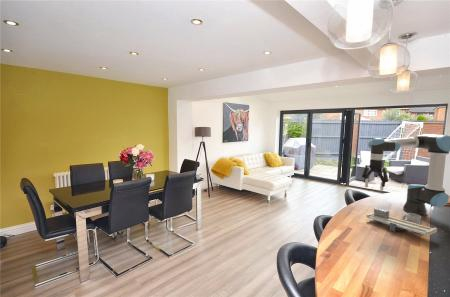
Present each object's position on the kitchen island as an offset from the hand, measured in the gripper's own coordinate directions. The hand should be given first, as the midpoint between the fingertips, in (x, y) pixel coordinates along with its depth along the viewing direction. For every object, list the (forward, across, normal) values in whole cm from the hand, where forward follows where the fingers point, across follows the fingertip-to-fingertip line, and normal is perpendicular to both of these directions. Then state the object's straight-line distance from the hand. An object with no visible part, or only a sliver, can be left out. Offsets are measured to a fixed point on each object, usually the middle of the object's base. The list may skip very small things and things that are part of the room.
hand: (373, 188), depth 166 cm
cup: (+24, +19, +14) cm, 34 cm away
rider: (+19, +7, 0) cm, 21 cm away
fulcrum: (+24, +18, 0) cm, 30 cm away
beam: (+20, +18, 0) cm, 27 cm away
